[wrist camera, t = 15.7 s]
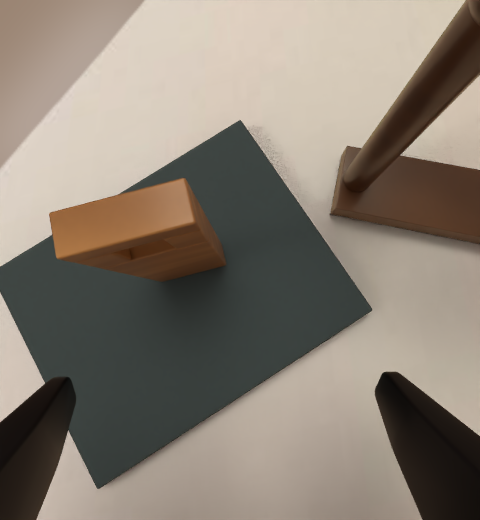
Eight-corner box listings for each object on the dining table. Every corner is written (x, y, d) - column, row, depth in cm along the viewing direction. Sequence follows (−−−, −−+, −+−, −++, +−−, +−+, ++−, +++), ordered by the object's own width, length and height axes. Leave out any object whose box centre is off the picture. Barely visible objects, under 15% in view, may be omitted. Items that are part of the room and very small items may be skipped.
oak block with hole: (226, 265, 17) (196, 223, 8) (161, 282, 17) (54, 260, 8) (221, 242, 18) (184, 175, 8) (156, 259, 18) (47, 211, 8)
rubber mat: (106, 479, 17) (97, 490, 16) (3, 274, 19) (-11, 272, 18) (366, 309, 18) (373, 310, 17) (241, 128, 20) (240, 119, 19)
